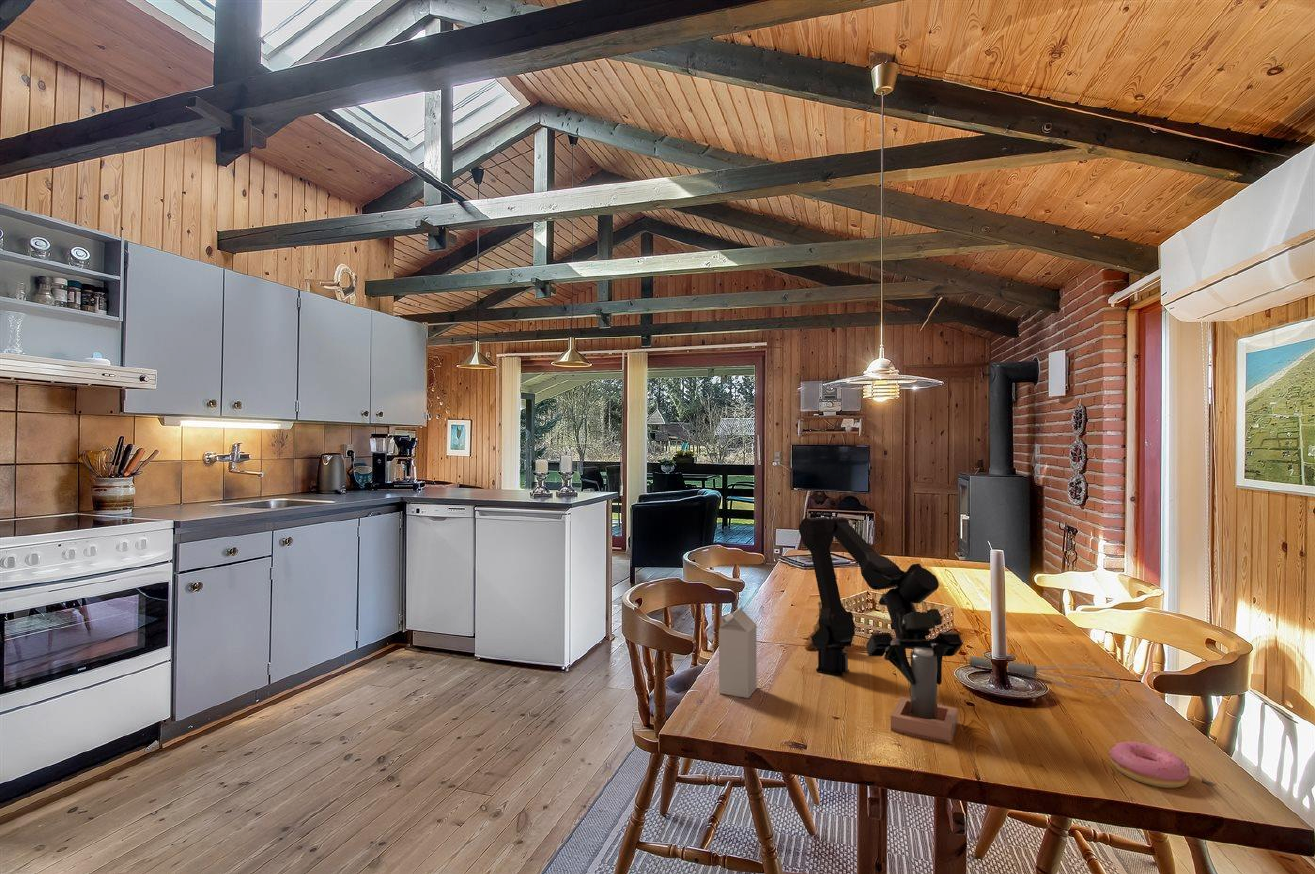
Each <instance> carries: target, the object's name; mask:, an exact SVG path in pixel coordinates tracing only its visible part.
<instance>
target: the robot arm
mask: <svg viewBox="0 0 1315 874" xmlns="http://www.w3.org/2000/svg"><path fill="white" fill-rule="evenodd" d="M798 532H799V535H800V537H801V541H802V544H803V545H804V546H805V547H806V549H807V550H808V551H809V552H810V554H811V560H812V564H813V569H814V574H815V579H816V585H817V590H818V594H819V599H820V602H821V604H822V610H821V613H820V617H819V616H818V619H819V630H818V631H817V632H816V633H815V634H814V635H813V636H812V642H813V646H815V647H817V648H818V649H817V652H818V653H817V660H818V661H817V666H818V667H816V669H815V671H816V672H818V673H823V674H828V675H833V676H838V677H842V676H843V675H844V674H845V672H847V671H848V669H849V657H848V656H849V654H848V652H846V651H847V649H846V647H851V646H852V642H853V638H854V636H855V635H856V630H855V629H856V628H857V626H856V625H855V622H854V614H853V612H852V611H851V610H850V611H847V610H846V609H845V607H844V606H843V604H842V601H841V600H842V599H841V595H840V592H839V586H838V581H837V577H836V571H835V568H834V561H833V558H832V557H833V556H832V554H831V553H832V552H831V547H832V544H833V541H834V538H835V539H836V540H837V542H839V544H840V545H841V546H842V547H843V548H844V550H846V552H848V554H849V555H850V556H851V557H852V558H853V560H855V562H856V563H857V564H858V566H859V567H860V575H861V576H862V578H863V579H864V581H865V582H866V584H867V585H868V586H869V588H870V589H872V590H873V591H881V590H887V591H886V592H884V593H882V594H881V597H880V598H879V600H878V605H881V606H886V609H887V612H888V615H889V618H890V621H891V622H890V625H889V626H890V629H891V630H894V635H895V637H893V635H892V634H891V633H890V632H872V634H871V635H870V637H869V638H868V641H867V643H866V645H865V647H866V648H865V649H866V653H867V655H868V656H869V657H871V658H872V657H873V658H874V657H877V658H879V657H880V658H881V657H883V659H884V660H885V661H889V662H890V663H891V664H892V665H893V666H894V667H895V668H896V669H897V670H898V671H899V672H900V673H901V674H902V675H903V676H904V678H906V680H907V681H908V682H909V683H910V685H911V684H912V685H914V684H915V679H914V675H913V672H912V670H911V663H910V662H909V659H908V657H907V652H906V651H907V650H908V649H909V650H910V649H911V650H914V648H916V647H925V648H929V649H932V650H933V654H935V655H937V686H938V685H939V686H940V685H941V684H942V682H943V677H942V673H943V672H942V670H943V669H942V668H943V666H942V665H943V657H954V656H955V655H956V654H957V652H958V651H959V650H960V648H961V647H962V646H963V645H964V642H963V640H962V637H961V636H960V634H959V633H957V632H953V631H952V632H951V631H950V632H947V631H946V632H944V631H943V632H939V633H938V634H937V636H936V637H935V638H927V637H926V636H929V635H930V634H931V632H930V631H931V629H932V630H934V629H935V628H936V627H937V626H940V625H942V624H943V619H942V615H941V613H940V610H939V609H938V608H930V609H927V610H926V612H925V611H923V612H922V611H917V609H916V607H915V604H918V605H919V604H921V603H922V602H924V601H925V600H926V599H927V598H929V596H931V595H932V594H933V593H934V592H936V591H937V590H938V588H939V587H940V582H939V580H938V578H937V577H936V574H933V573H932V572H931V571H930V570H928V569H927V568H924V567H922V564H920V563H912V564H911V565H910V566H909V567H908V569H907V570H905V571H904V570H902V569H901V568H900V567H899V565H898V564H896V563H895V562H894V561H892V560H891V559H889V558H888V557H886V556H885V555H884V556H883V555H881V554H879V553H877V552H876V551H875V550H874V549H873V548H872V547H871V546H870V544H869V543H868V542H867V541H866V540H865V539H864V538H863V537H862V536H861V535H860V533H858V532H857V530H856V529H855V528H854V527H852V525H851V524H850V522H849V520H848V518H846V517H843V516H834V517H829V518H827V517H825V516H819V517H818V516H817V517H804V518H803V519H802V520H801V522H800V524H799V525H798ZM888 589H889V590H888ZM906 649H907V650H906ZM884 654H885V655H884Z"/></svg>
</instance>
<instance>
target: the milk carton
mask: <svg viewBox="0 0 1315 874" xmlns="http://www.w3.org/2000/svg"><path fill="white" fill-rule="evenodd" d="M743 609H744V606H743V605H741V606H740V607H739V608H737V609H736V610H735V611H734V612H730V613H729V614H727V615H726V616H725V617H723V619H724V620H725V623H724V624H723V625H721V626H720V627H719V629H718V693H719V694H723V695H728V696H734V697H737V698H738V697H740V698H745V699H749V698H750V697H751V695H752V694H753V693H754V692H755V690H756V689H757V685H758V684H757V683H758V682H757V680H758V677H757V676H758V675H757V674H758V673H757V669H758V668H757V667H758V666H757V663H758V662H757V660H758V659H757V656H758V655H757V654H758V653H757V650H758V649H757V648H758V647H757V636H758V635H757V634H758V633H757V630H758V629H757V624H756V622H754V620H753V619H752V618H751V617H750V616H749V615H748V614H747V613H746V612H745V611H744V610H743Z"/></svg>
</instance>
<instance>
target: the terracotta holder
mask: <svg viewBox="0 0 1315 874" xmlns="http://www.w3.org/2000/svg"><path fill="white" fill-rule="evenodd" d="M957 726H958V708H956V707H953V706H948V705H943V704H938V703H937V718H935V719H922V718H918V717H916V716H914V715H912V714H911V698H907V697H904V696H900V697H899V699H898V701H897V703H896V705H895V707H894V709H893V710H892V713H891V714H890V731H891V732H893V733H894V732H895V733H899V734H902V735H903V734H904V735H907V736H913V737H915V738H916V737H917V738H920V739H921V738H922V739H924V740H929V741H934V742H938V743H942V744H946V743H948V744H947V745H952V744H951V743H953V739H954V737H955V733H956V729H957Z"/></svg>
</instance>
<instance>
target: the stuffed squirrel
mask: <svg viewBox="0 0 1315 874" xmlns="http://www.w3.org/2000/svg"><path fill="white" fill-rule="evenodd" d="M816 603H817V605H818V614H817V615H816V617H815V618H816V619H817V617H818V620H817V621H816V623H815V624H814V625H813V632H812V631H811V633H810V635H809V642H806V644H805V645H804V649H805V650H807V651H812V650H813V651H814V650H818V648H817V647H815V646H813V642H812V636H813V635H814V634H815V633H816V632H817V631H818V630H819V617H820V613H821V610H822V604H821V600H820V601H817V602H816Z"/></svg>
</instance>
